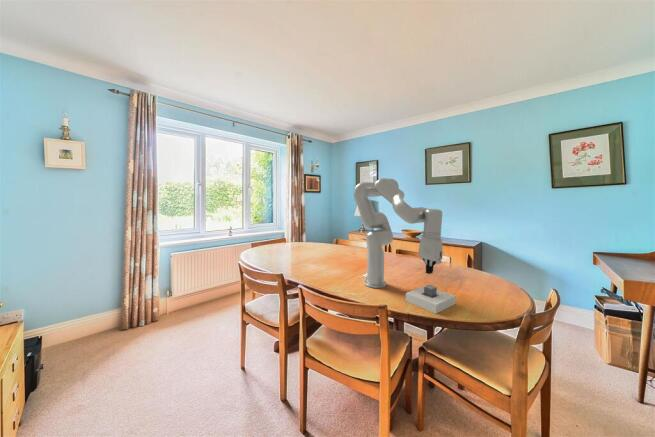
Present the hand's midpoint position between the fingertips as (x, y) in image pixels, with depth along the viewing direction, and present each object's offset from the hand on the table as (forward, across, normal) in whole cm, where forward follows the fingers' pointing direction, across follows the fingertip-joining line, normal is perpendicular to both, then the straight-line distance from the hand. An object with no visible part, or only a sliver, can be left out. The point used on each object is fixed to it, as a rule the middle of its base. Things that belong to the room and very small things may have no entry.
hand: (429, 272), depth 119 cm
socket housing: (+14, +2, 0) cm, 14 cm away
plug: (+14, +2, 0) cm, 14 cm away
